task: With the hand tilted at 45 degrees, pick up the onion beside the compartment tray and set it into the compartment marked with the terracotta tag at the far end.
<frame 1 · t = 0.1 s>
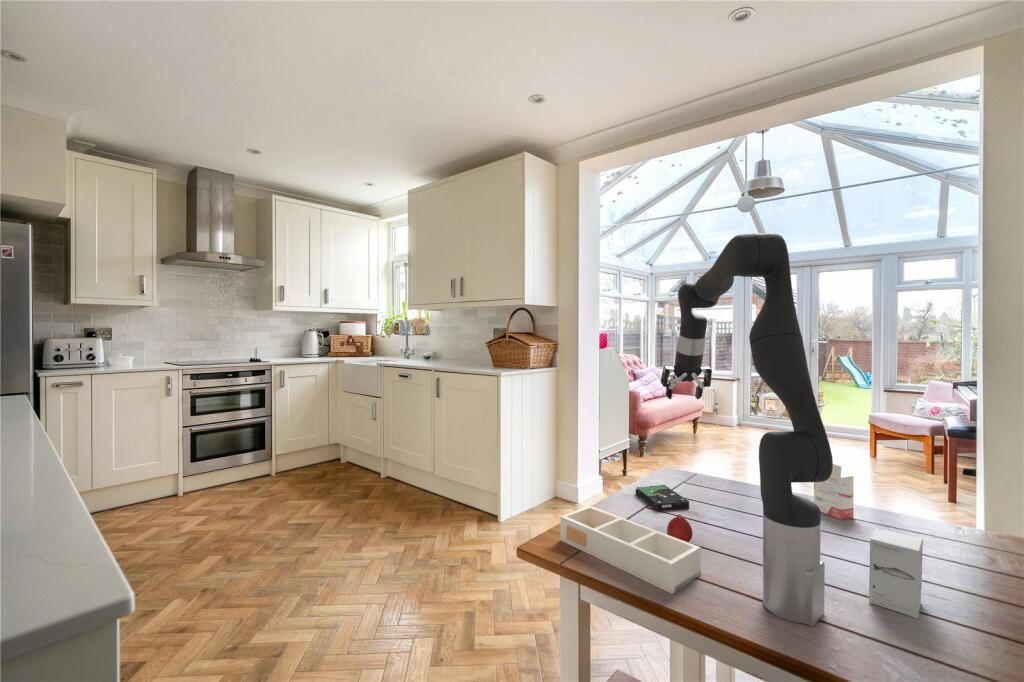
hand: (683, 398, 143), 31 cm above the table, fingers open, 8 cm apart
supplement box: (895, 604, 89), on the table
ink cartridge box: (833, 514, 131), on the table
onion: (679, 547, 112), on the table
compartment tray: (625, 556, 108), on the table
disk drive: (661, 503, 142), on the table
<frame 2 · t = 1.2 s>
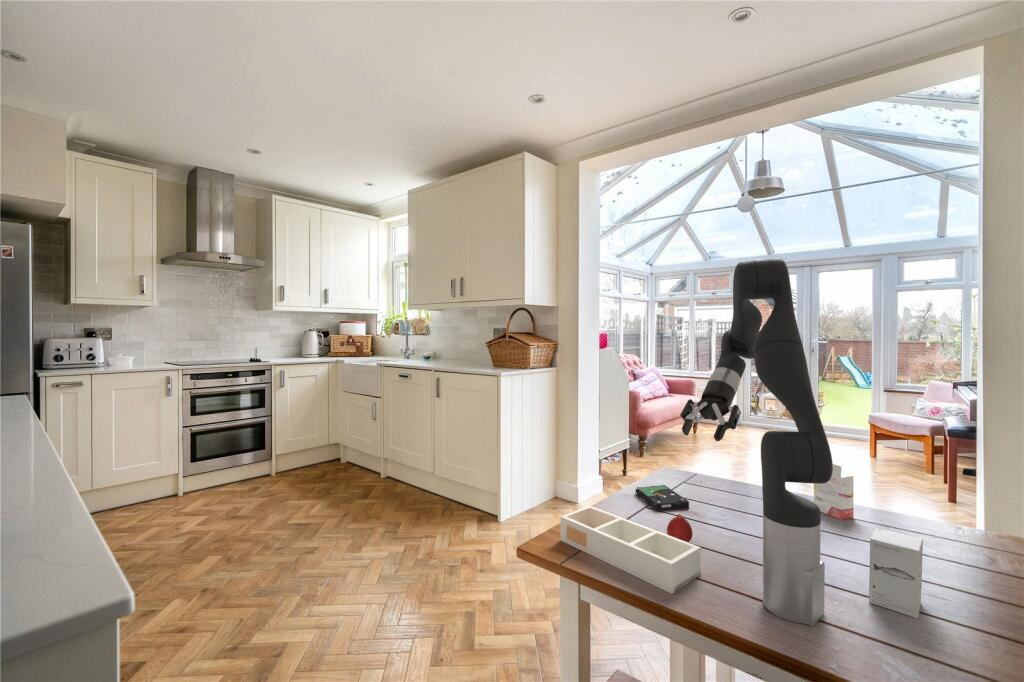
hand: (700, 436, 120), 25 cm above the table, fingers open, 8 cm apart
nothing on the table moved.
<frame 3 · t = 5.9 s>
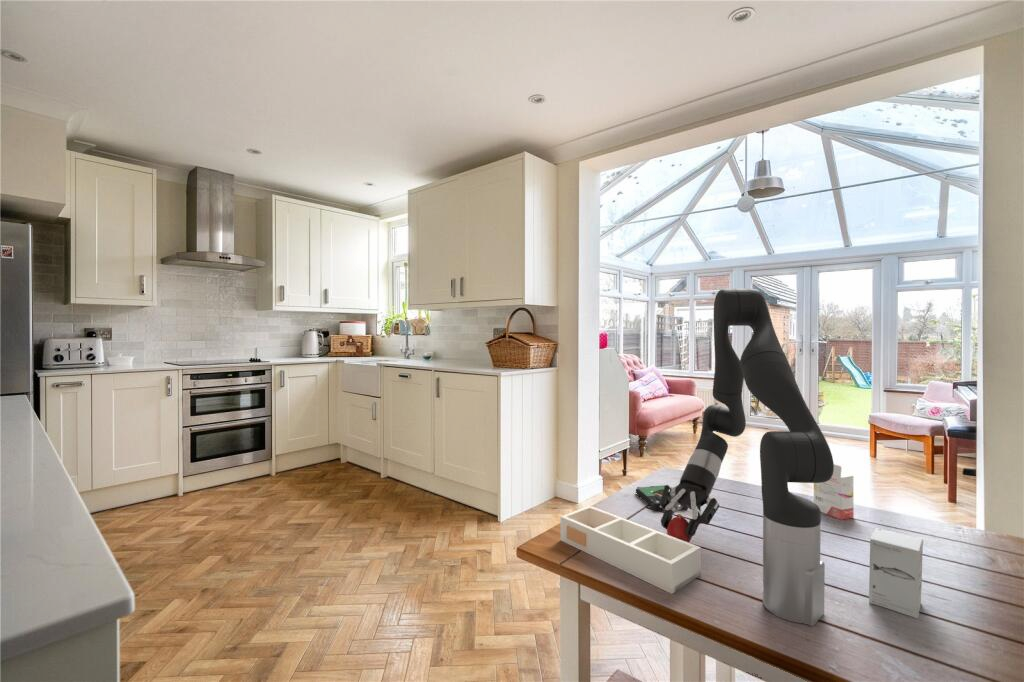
hand: (675, 531, 111), 4 cm above the table, fingers closed on onion, 5 cm apart
onion: (679, 547, 112), on the table, touching gripper
everything else where it was.
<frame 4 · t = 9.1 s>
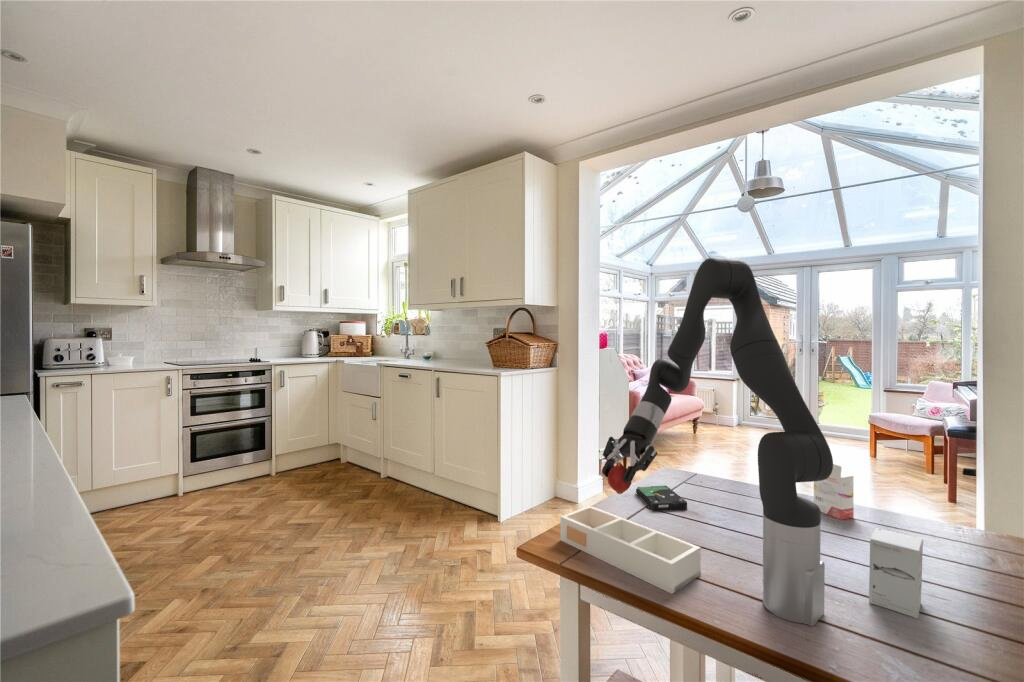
hand: (614, 478, 114), 16 cm above the table, fingers closed on onion, 5 cm apart
onion: (619, 494, 115), point 12 cm above the table, touching gripper
everything else where it was.
when the fingers open (7 cm above the table, at t = 12.0 s): onion stays where it is, resting on compartment tray.
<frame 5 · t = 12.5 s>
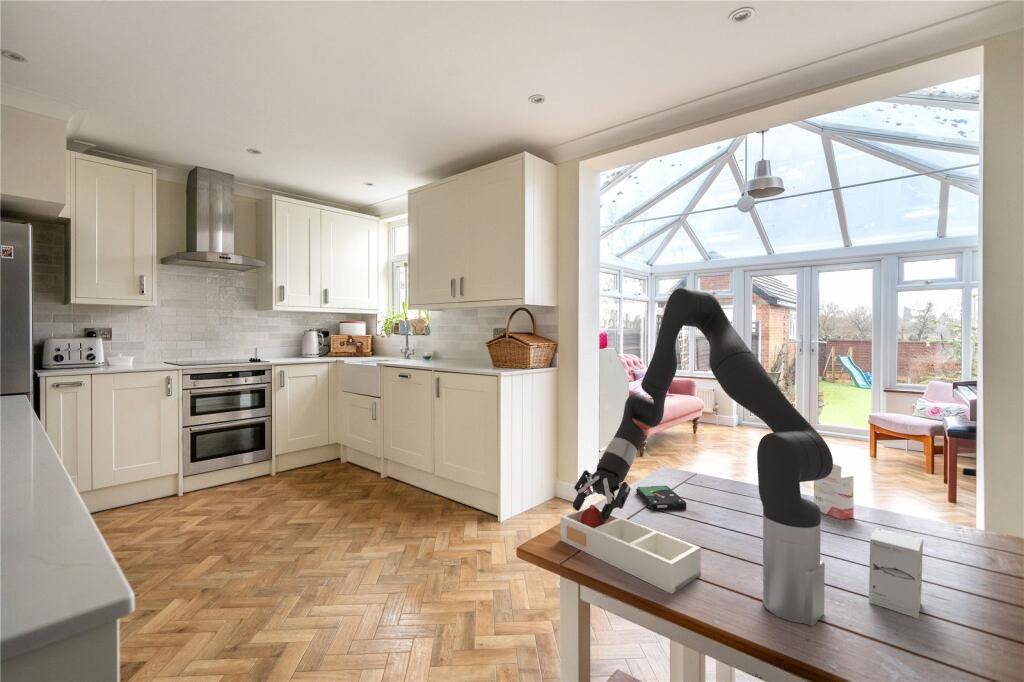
hand: (588, 514, 115), 7 cm above the table, fingers open, 8 cm apart
onion: (592, 536, 116), point 1 cm above the table, touching compartment tray
everything else where it was.
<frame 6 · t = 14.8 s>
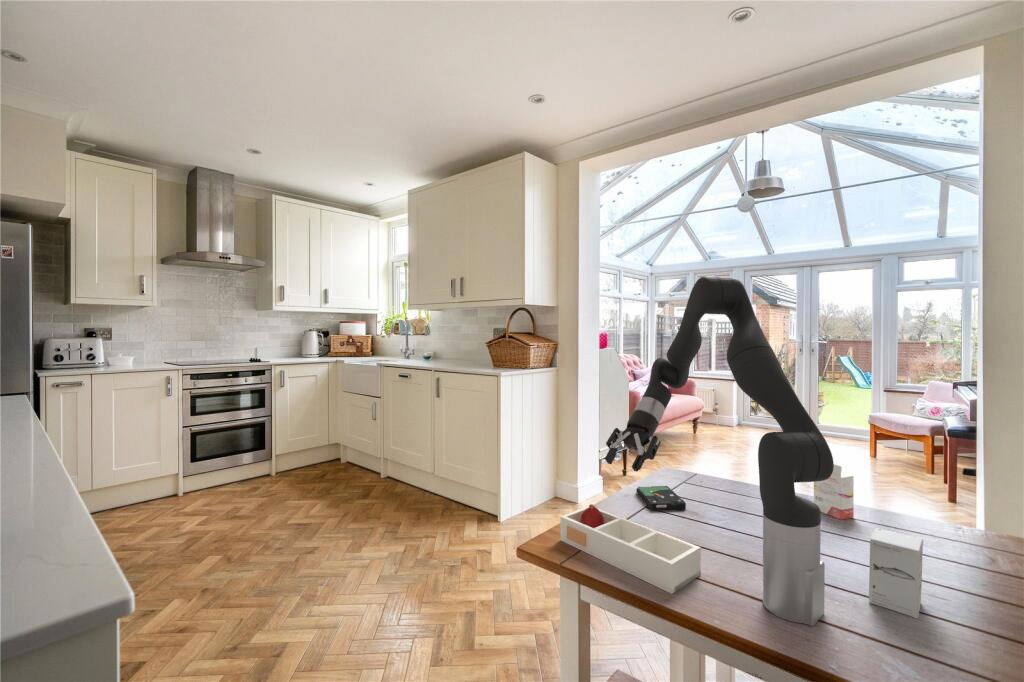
hand: (620, 466, 122), 17 cm above the table, fingers open, 8 cm apart
nothing on the table moved.
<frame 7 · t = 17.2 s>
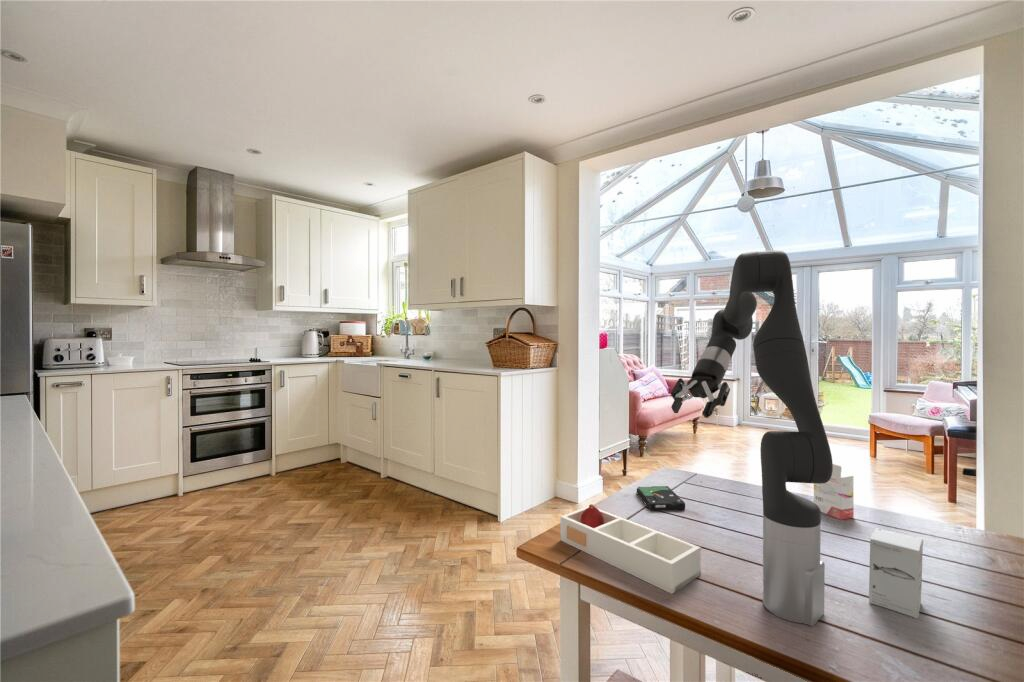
hand: (689, 413, 120), 31 cm above the table, fingers open, 8 cm apart
nothing on the table moved.
at the end: onion 0.2 cm from the target spot on the compartment tray, point 1.1 cm above the compartment tray's base; the gripper is holding nothing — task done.
